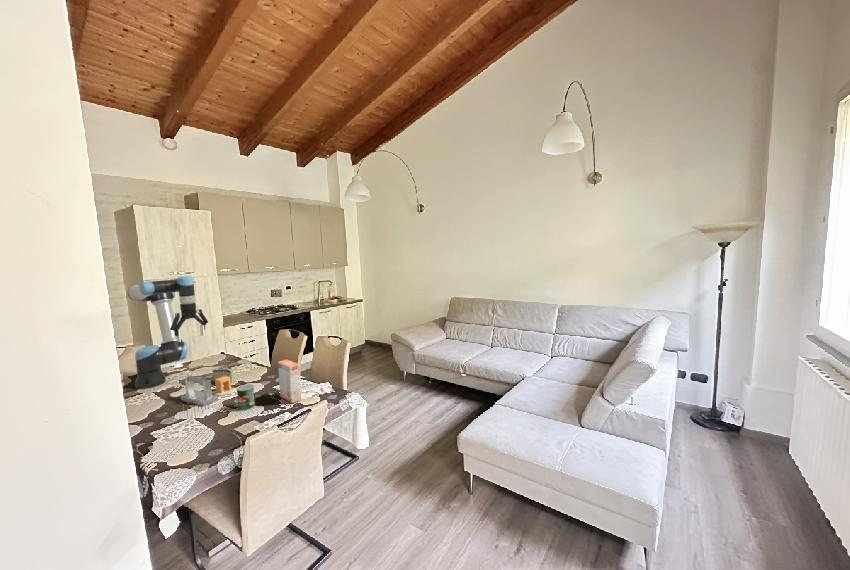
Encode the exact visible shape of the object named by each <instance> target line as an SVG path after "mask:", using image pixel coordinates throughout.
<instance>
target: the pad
mask: <svg viewBox="0 0 850 570" xmlns="http://www.w3.org/2000/svg"><path fill="white" fill-rule="evenodd" d="M223 390H224V393H219V392H216V389H215V390H212V395H216V396H218V397H223V396H226V395H228V394H230V393H233V392H235V391H237V388H236V387H232V386H231V390H227V389H224V386H223Z"/></svg>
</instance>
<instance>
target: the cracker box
mask: <svg viewBox="0 0 850 570" xmlns="http://www.w3.org/2000/svg"><path fill="white" fill-rule="evenodd" d="M277 367H278V382H279V383H278V385H279V397H280V398H282V399H284V400H286V401H287V402H288V403H290V404H295V403H297V402H300V401H302V394H301V390H302V389H301V375H300V364H299V363H296V362H295V361H292V360H290V359H283V360H280V361H278V362H277Z"/></svg>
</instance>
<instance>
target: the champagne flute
mask: <svg viewBox="0 0 850 570" xmlns="http://www.w3.org/2000/svg"><path fill="white" fill-rule="evenodd" d="M173 366H174V367H173ZM173 366H171V367H172V369H177V368H181V367H182V368H183V366H184V364H182V363H179V361H176V362H175V364H174V365H173Z"/></svg>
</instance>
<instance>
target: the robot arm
mask: <svg viewBox="0 0 850 570" xmlns="http://www.w3.org/2000/svg"><path fill="white" fill-rule="evenodd" d="M176 293H178V296H179V306H180V312H175V313H174V311H173V307H172V303H173V301H174V299H175V297H176ZM127 296H128V298H129V299H130V300H132V301H134V302H140V303H141V302H150V303H151V305H153V306H154V307H155V313H156V317H157V322H158V325H159V331H160V335H161V338H162V342H161V343H160V346H159V345H157V344H154V345H148V346H145V347H142V348H140V349H138V350H137V351H136V352H135V353H134V354H135V356H134V359H135V365H136V374H137V376H136V378H135V381H134V382H135V383H134V386H135V388H136V389H141V390H142V389H149V388H153V387H157V386H160V385H162V384H164V383H166V381H167V379H166V376H165V374H164V372H163V371H162V367H161V366H164V365H167V364H173V363H176V361H178V362H179V361H183V360H185V359H186V358H187V356H188V352H189V349H188V347H189V346H188V344H187V342H186V341H183V338H182V336H181V330H180V328H181V327H182V325H183V324H184V322H185V321H187V320H189V319H194V320H196V322H198V323H199V328H200V329H199V330H200V336H201V337H203V336H204V337H205V336H206V333H205V330H206V325H207V324H208V323H209V321H208V319H207V317H206V316H205V315H204V313H203V310H202V309H200V308H197V303H196V294H195V281H194V277H193V276H191V275H190V276H189V275H186V276H179V277H177V278H174V279H165V280H153V281H141V282H140V283H137V284H134V285H132V286H131V287H129V288H128V290H127ZM197 314H198V315H197Z"/></svg>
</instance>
